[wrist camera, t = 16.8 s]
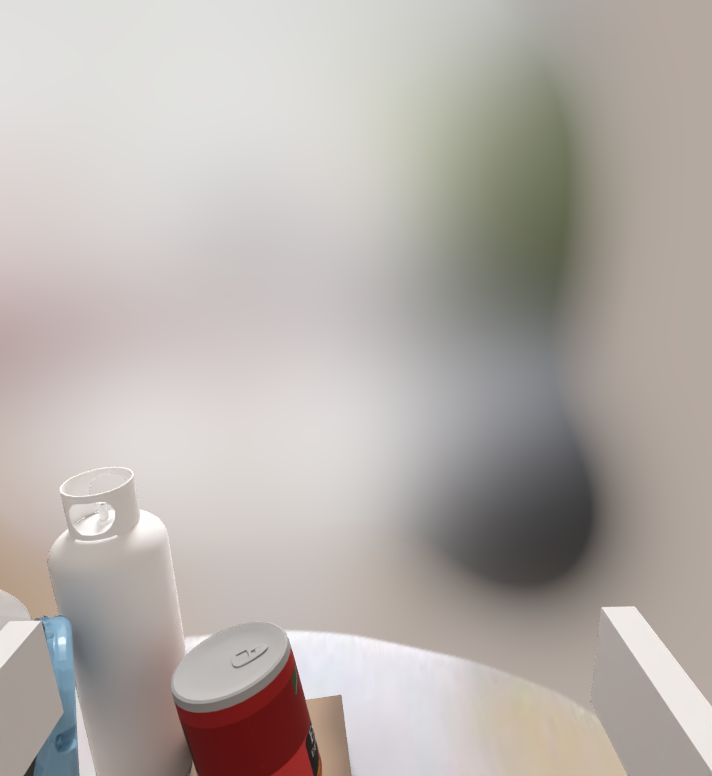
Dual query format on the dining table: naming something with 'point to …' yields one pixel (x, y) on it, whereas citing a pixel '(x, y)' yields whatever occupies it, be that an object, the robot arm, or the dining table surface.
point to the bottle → (121, 627)
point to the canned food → (245, 705)
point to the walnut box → (327, 735)
